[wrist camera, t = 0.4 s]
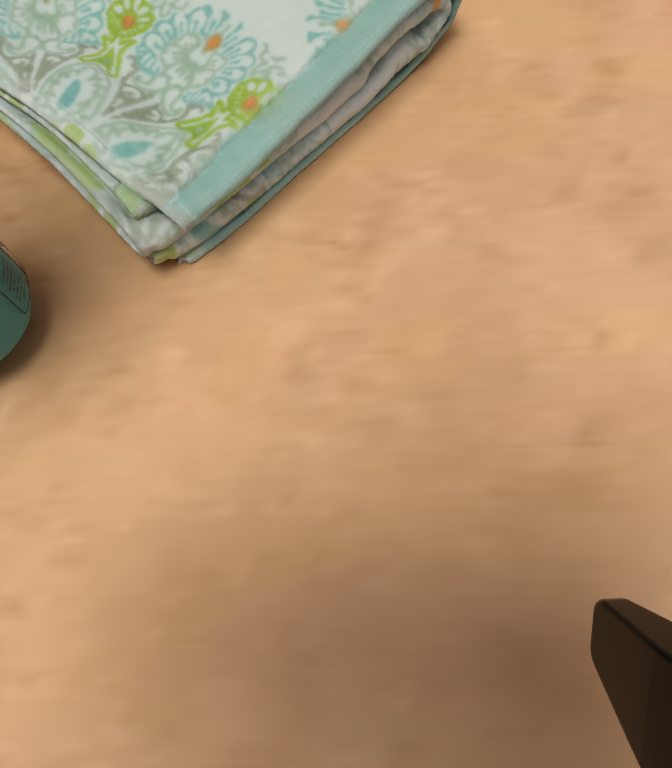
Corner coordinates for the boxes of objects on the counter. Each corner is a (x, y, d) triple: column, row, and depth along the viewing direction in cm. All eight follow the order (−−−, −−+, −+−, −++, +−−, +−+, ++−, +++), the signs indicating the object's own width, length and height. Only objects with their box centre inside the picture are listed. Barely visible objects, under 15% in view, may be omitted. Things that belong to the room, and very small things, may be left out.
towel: (-65, 86, 31) (-138, -7, 26) (226, -111, 36) (212, -219, 31) (175, 300, 27) (144, 240, 22) (458, 46, 32) (483, -48, 28)
